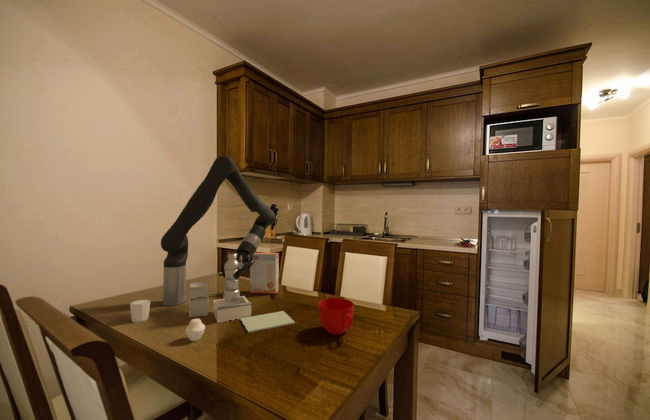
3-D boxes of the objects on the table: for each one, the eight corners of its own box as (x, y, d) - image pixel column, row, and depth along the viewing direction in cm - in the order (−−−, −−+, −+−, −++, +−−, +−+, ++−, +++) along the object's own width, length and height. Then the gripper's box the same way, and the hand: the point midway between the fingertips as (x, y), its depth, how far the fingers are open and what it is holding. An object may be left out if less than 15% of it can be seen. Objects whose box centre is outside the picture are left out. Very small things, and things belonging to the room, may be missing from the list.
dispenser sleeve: (217, 322, 107) (217, 307, 107) (213, 311, 119) (213, 297, 119) (251, 317, 114) (251, 302, 114) (244, 307, 125) (244, 293, 125)
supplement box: (188, 318, 112) (188, 286, 112) (190, 311, 119) (190, 282, 119) (208, 315, 114) (208, 285, 114) (208, 309, 121) (209, 280, 121)
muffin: (206, 334, 98) (207, 314, 98) (203, 342, 92) (203, 321, 92) (187, 335, 96) (188, 315, 96) (182, 344, 90) (182, 322, 90)
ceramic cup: (334, 347, 90) (334, 316, 90) (312, 327, 105) (312, 300, 105) (367, 338, 96) (367, 310, 96) (341, 321, 111) (342, 296, 111)
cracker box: (278, 291, 150) (279, 252, 150) (275, 294, 144) (276, 254, 144) (253, 290, 151) (254, 251, 151) (249, 293, 145) (250, 253, 145)
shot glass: (154, 317, 112) (154, 300, 112) (136, 324, 105) (136, 305, 105) (143, 314, 115) (143, 297, 114) (125, 320, 108) (125, 302, 108)
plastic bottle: (243, 299, 119) (244, 252, 118) (232, 304, 112) (233, 255, 112) (230, 297, 121) (231, 251, 120) (219, 302, 114) (220, 254, 114)
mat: (248, 332, 99) (248, 331, 99) (240, 319, 111) (240, 318, 111) (294, 323, 108) (294, 321, 108) (283, 312, 119) (283, 310, 119)
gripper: (233, 239, 126) (211, 270, 115) (258, 241, 120) (237, 274, 109) (241, 249, 131) (221, 279, 120) (265, 252, 125) (246, 284, 114)
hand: (229, 277), depth 115 cm, fingers closed on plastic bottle, 6 cm apart
